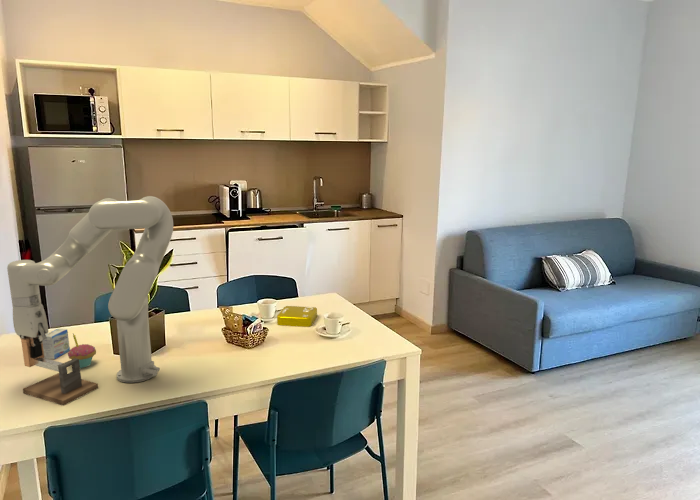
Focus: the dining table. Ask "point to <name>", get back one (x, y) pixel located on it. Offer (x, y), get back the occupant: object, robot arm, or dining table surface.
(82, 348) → the cupcake
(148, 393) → the dining table surface
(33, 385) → the eye board
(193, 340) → the dining table surface
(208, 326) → the dining table surface
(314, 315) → the element tile
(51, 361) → the tan grey angled piece
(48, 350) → the medicine box
